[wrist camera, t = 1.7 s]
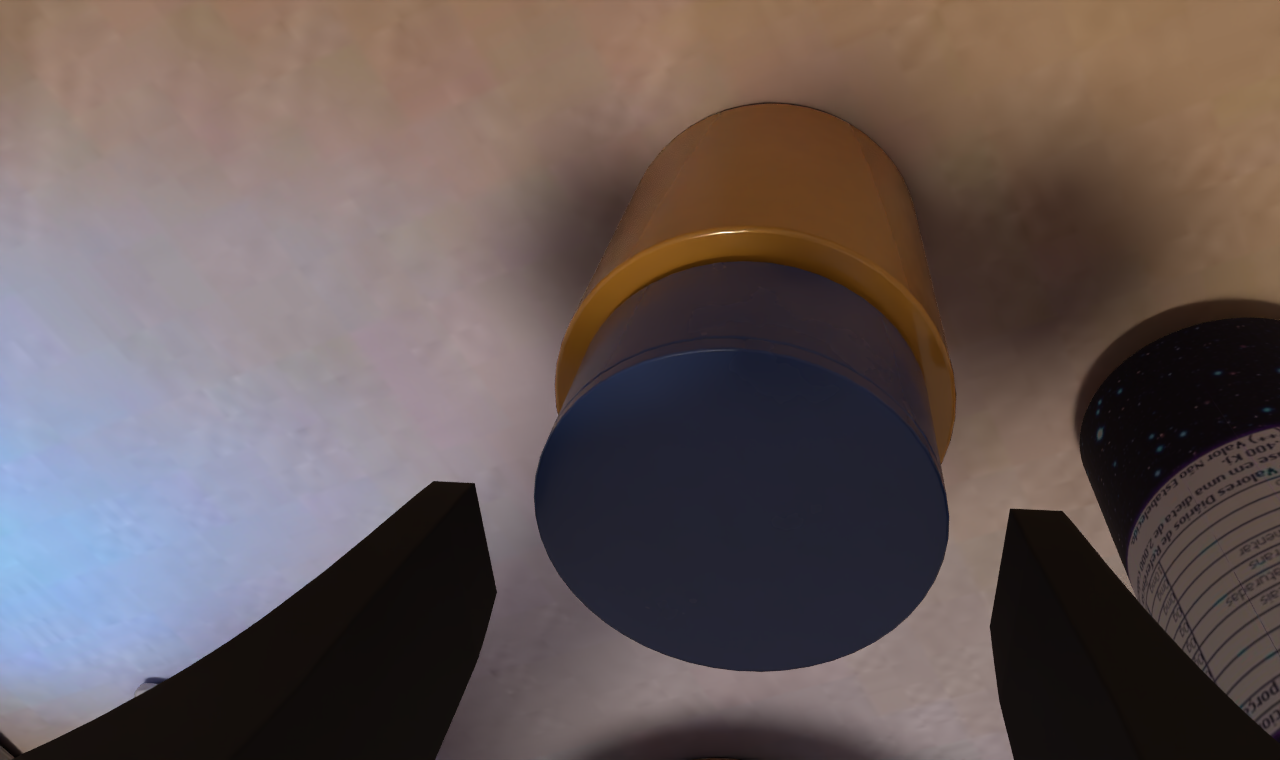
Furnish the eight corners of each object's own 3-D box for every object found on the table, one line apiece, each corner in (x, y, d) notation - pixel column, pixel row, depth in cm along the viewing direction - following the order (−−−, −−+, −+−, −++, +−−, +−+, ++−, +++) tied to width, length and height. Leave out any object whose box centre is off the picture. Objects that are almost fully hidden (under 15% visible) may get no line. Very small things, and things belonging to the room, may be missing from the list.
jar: (906, 375, 22) (952, 689, 14) (637, 368, 23) (541, 655, 15) (930, 98, 19) (1011, 305, 11) (615, 107, 20) (477, 299, 12)
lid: (913, 567, 16) (929, 691, 14) (593, 548, 17) (558, 660, 15) (946, 260, 13) (973, 353, 11) (557, 259, 14) (505, 344, 12)
